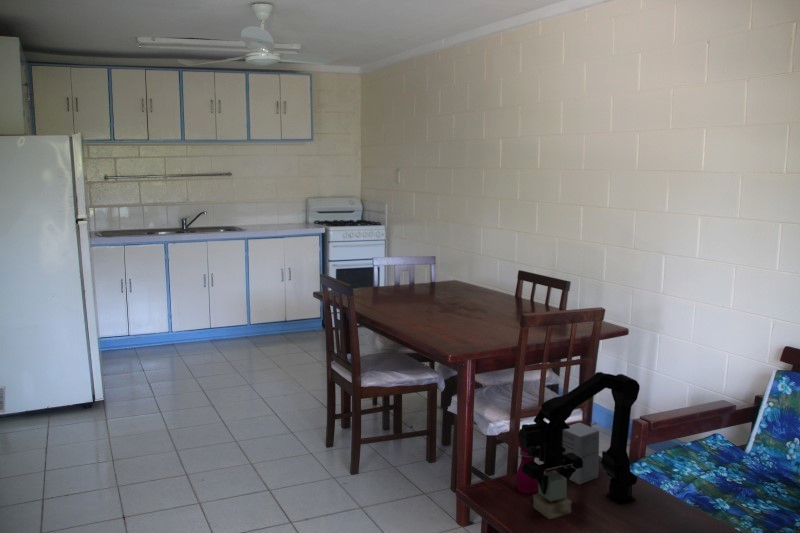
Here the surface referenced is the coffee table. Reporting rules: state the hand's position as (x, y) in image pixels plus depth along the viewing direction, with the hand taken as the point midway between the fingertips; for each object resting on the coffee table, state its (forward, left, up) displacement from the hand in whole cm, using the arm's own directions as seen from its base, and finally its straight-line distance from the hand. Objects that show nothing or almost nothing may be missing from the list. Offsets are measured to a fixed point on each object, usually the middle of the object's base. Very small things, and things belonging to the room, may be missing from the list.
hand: (552, 491), depth 204 cm
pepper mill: (-1, -14, -6) cm, 16 cm away
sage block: (0, 0, -1) cm, 1 cm away
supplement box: (-22, -15, -6) cm, 27 cm away
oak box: (0, 0, -6) cm, 6 cm away
